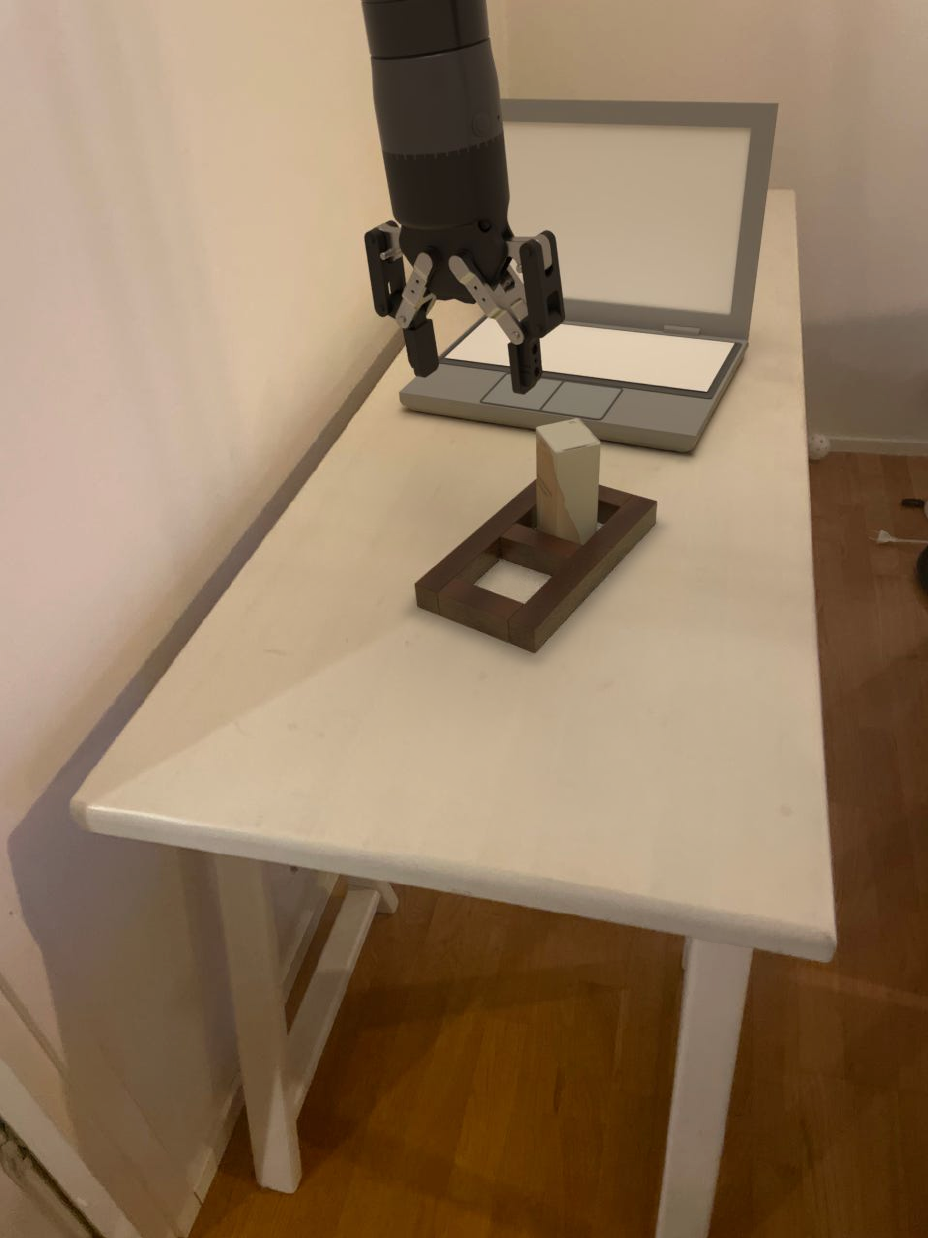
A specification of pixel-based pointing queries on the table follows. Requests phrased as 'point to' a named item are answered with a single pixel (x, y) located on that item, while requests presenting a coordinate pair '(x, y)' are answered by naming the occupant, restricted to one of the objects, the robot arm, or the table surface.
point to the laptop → (625, 267)
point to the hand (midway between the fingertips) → (474, 380)
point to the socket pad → (533, 567)
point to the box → (567, 480)
